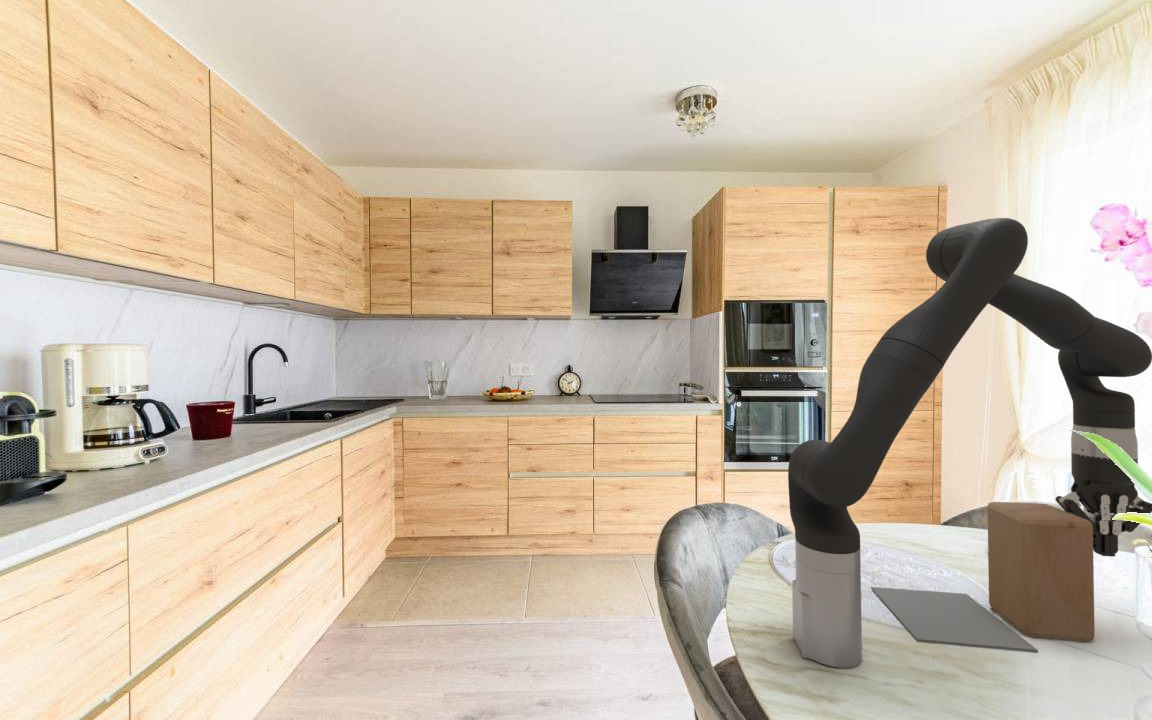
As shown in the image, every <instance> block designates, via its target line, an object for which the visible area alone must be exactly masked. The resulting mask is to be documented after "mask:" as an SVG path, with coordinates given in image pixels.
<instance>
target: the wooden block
mask: <svg viewBox="0 0 1152 720" xmlns="http://www.w3.org/2000/svg"><path fill="white" fill-rule="evenodd" d="M987 550H988V552H987V558H988V559H987V560H988V561H987V563H988V565H987V566H988V604H989V606H990V607H991V609H992V610H993V611H994V612H996V613H997V614H998V615H999V616H1001V618H1003V619H1004V620H1005V621H1007V622H1008V623H1010V624H1011V625H1012V626H1014V627H1015V628H1016V629H1017V630H1019V631H1020V632H1021V633H1023V635H1026V636H1027V637H1028V636H1029V637H1036V638H1048V639H1060V640H1069V641H1071V640H1072V641H1081V642H1082V641H1083V642H1092V641H1094V639H1095V636H1096V635H1095V634H1096V633H1095V588H1094V587H1095V582H1094V581H1095V579H1094V578H1095V576H1094V575H1095V574H1094V571H1095V570H1094V569H1095V568H1094V567H1095V566H1094V550H1093V526H1092V523H1091V522H1090V521H1089V520H1086V519H1084V518H1081V517H1078V516H1076V515H1073V514H1071V513H1068V512H1065V510H1064V509H1060V508H1057V507H1055V506H1053V505H1050V504H1047V503H1035V502H1033V503H1032V502H1030V503H1029V502H1010V501H1009V502H1008V501H1005V502H1004V501H991V502H988V504H987Z"/></svg>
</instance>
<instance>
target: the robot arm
mask: <svg viewBox="0 0 1152 720" xmlns="http://www.w3.org/2000/svg"><path fill="white" fill-rule="evenodd" d="M1028 243H1029V239H1028V232H1027V230H1026V228H1025V226H1024V225H1023V224H1022V223H1021V222H1019V221H1018V220H1016V219H1013V218H1010V217H1009V218H1008V217H996V218H987V219H982V220H978V221H973V222H968V223H963V224H958V225H955V226H951V227H948V228H945V229H942V230H941V231H940V232H937V233H936V234H935V235H934V236H933V237H932V238H931V240H930V241H929V242H928V244H927V247H926V251H925V259H926V263H927V265H928V266H927V267H928V268H929V270H931V272H932V273H933V274H934V275H935V276H936V277H937V278H939V279H940V280H942V281H944V283H943V285H942V286H941V287H939V289H938V290H937V291H936V292H935V293H933V295H931V296H930V297H929V298H928V299H926V300H925V301H924V302H922V303H921V304H919V305H918V306H916V307H915V308H914V309H912V310H911V311H910V312H908V313H907V314H905V315H903V317H901V318H900V319H899V320H897V321H896V322H895V323H894V324H892V326H891V327H889V328H888V329H887V330H886V331H885V332H884V333H883V335H882V336H881V338H880V339H879V340H878V342H877V343H876V345H875V346H874V348H873V349H872V351H871V352H870V353H869V355H868V357H867V359H866V360H865V362H864V364H863V366H862V368H861V370H860V374H859V379H858V383H857V390H856V397H855V403H854V406H853V409H852V411H851V413H850V415H849V417H848V418H847V421H846V422H845V423H844V425H843V426H842V427H841V429H840V430H839V432H838V433H837V435H836V436H835V437H834V438H833V440H832V441H831V442H829V441H826V440H821V439H809V440H806V441H804V442H802V443H800V444H798V445H797V446H796V447H795V448H794V450H793V451H792V453H791V455H790V458H789V462H788V467H787V476H788V477H787V481H788V482H787V485H788V500H789V514H790V519H791V522H792V524H793V527H794V528H793V529H794V539H795V541H794V544H795V550H794V551H795V579H793V580H792V581H791V584H792V585H791V586H792V587H791V588H792V589H791V591H792V637H793V639H794V641H795V643H796V646H797V648H798V650H799V652H800V655H801V657H802V658H804V659H809V660H813V661H815V662H817V663H819V664H822V665H826V666H830V667H834V668H840V669H841V668H843V669H845V668H847V669H848V668H853V667H856V666H859V664H860V663H861V662H862V661H863V660H862V659H863V656H862V655H863V653H862V652H863V642H862V641H863V640H862V639H863V638H862V634H863V633H862V581H861V580H862V575H861V574H862V573H861V572H862V570H861V568H862V567H861V566H862V565H861V564H862V563H861V560H862V559H861V533H860V531H859V528H858V527H857V525H856V524H855V522H854V520H853V519H852V517H851V515H850V512H849V510H848V508H847V507H850V506H852V505H855V504H856V503H857V502H859V501H860V500H861V499H862V498H863V497H864V496H865V495H866V493H867V492H868V491H869V489H870V487H871V486H872V484H873V482H874V480H875V479H876V476H877V474H878V472H879V470H880V468H881V466H882V464H883V463H884V460H885V458H886V456H887V454H888V452H889V450H890V448H891V446H892V445H893V443H894V442H895V440H896V437H897V436H898V434H899V433H900V431H901V430H902V429H903V427H904V426H905V424H906V423H907V421H908V419H909V418H910V416H911V415H912V413H913V412H914V410H915V408H916V407H917V405H918V404H919V403H920V400H921V399H922V398H923V397H924V395H925V394H926V392H927V391H928V390H929V389H930V387H931V386H932V384H933V382H934V381H935V380H936V379H937V377H938V375H939V373H940V372H941V370H942V369H943V368H944V366H945V365H946V363H947V362H948V359H949V358H950V357H951V355H952V353H953V352H954V350H955V348H956V347H957V346H958V344H959V343H960V341H961V340H962V339H963V338H964V336H965V335H966V333H967V332H968V331H969V329H970V327H972V325H973V323H974V322H975V320H976V319H977V318H978V316H979V315H980V314H981V313H982V311H983V310H984V309H986V307H987V305H990V306H992V307H993V308H996V309H998V310H999V311H1000V312H1002V313H1004V314H1005V315H1007V316H1009V317H1010V318H1012V319H1013V320H1015V321H1016V322H1018V323H1019V324H1020V325H1022V326H1023V327H1025V328H1026V329H1027V330H1029V332H1031V333H1032V334H1033V335H1035V336H1036V337H1038V338H1039V339H1040V340H1041V341H1042V342H1044V343H1045V344H1047V345H1048V346H1050V347H1051V348H1053V349H1056V350H1058V355H1057V360H1058V361H1057V362H1058V365H1059V369H1060V371H1061V374H1062V376H1063V379H1064V381H1065V384H1066V387H1067V389H1068V392H1069V395H1070V398H1071V400H1072V430H1076V431H1082V432H1089V433H1094V434H1097V435H1100V436H1102V437H1103V438H1105V439H1108V440H1110V441H1111V442H1113V443H1115V444H1117V445H1118V446H1119V447H1121V448H1122V449H1123V450H1124V451H1125V452H1126V453H1127V454H1128V455H1129V456H1130V457H1131V458H1132V459H1133V460H1134V461H1135V462H1136V463H1137V464H1138V465H1139V453H1138V451H1139V450H1138V449H1139V447H1138V445H1139V444H1138V443H1139V442H1138V437H1137V434H1136V406H1135V399H1134V397H1133V396H1132V395H1131V394H1129V393H1126V392H1123V391H1118V390H1113V389H1110V388H1107V387H1106V386H1104V384H1103V383H1102V381H1101V380H1100V379H1101V378H1100V377H1103V378H1128V377H1129V378H1130V377H1134V376H1138V375H1140V374H1142V373H1144V372H1145V371H1146V370H1148V368H1149V367H1150V365H1151V363H1152V350H1151V347H1150V346H1149V345H1148V343H1147V341H1145V339H1144V338H1142V337H1141V336H1139V335H1138V334H1136V333H1134V332H1133V331H1131V330H1128V329H1127V328H1124V327H1121V326H1119V325H1117V324H1115V323H1112V322H1110V321H1108V320H1106V319H1105V320H1104V319H1101V318H1099V317H1096V316H1095V315H1093V314H1092V313H1091V312H1090V311H1088V310H1087V309H1086V308H1085V307H1084V306H1082V305H1081V304H1080V303H1079V302H1078V301H1076V300H1075V299H1074V298H1072V297H1071V296H1070V295H1067V294H1065V293H1064V292H1061V291H1060V290H1057V289H1055V288H1053V287H1050V286H1047V285H1044V284H1042V283H1039V282H1036V281H1034V280H1031V279H1028V278H1025V277H1023V276H1020V275H1018V274H1015V273H1016V271H1017V270H1018V268H1019V267H1020V266H1021V264H1022V262H1023V260H1024V258H1025V256H1026V254H1027V250H1028ZM1072 430H1071V435H1070V437H1071V439H1070V444H1071V445H1070V449H1071V450H1070V451H1071V452H1070V453H1071V455H1070V456H1071V458H1070V459H1071V461H1070V462H1071V468H1070V469H1071V471H1070V472H1071V476H1072V477H1073V484H1072V485H1071V487H1070V491H1071V492H1069V493H1068V494H1065V495H1064V496H1061V495H1057V496H1056V497H1055V502H1056V503H1057V504H1058V505H1059V506H1060V507H1061V508H1062V510H1063V511H1065V512H1068V513H1071V514H1073V515H1076V516H1078V517H1081V518H1084V519H1086V520H1089V521H1090V522H1091V523H1092V526H1093V553H1095V554H1098V555H1100V556H1102V557H1114V558H1115V557H1116V554H1118V552H1119V535H1121V534H1122V533H1125V532H1127V533H1132V532H1133V531H1135V530H1136V528H1137V527H1139V525H1140V524H1141V523H1136V522H1131V521H1124V520H1112V518H1113V517H1114V516H1115V515H1116V514H1118V513H1127V512H1137V513H1150V514H1151V513H1152V503H1151V502H1149V501H1145V500H1144V499H1143V498H1141V497H1140V496H1139V493H1138V490H1137V489H1136V487H1135V485H1136V484H1134V483H1133V482H1132V481H1131V479H1130V478H1129V477H1128V476H1127V475H1126V474H1125V473H1124V472H1123V471H1122V470H1121V469H1120V468H1119V467H1118V466H1117V465H1115V463H1114V462H1113V461H1112V460H1111V459H1110V458H1109V457H1108V456H1107V455H1106V454H1105V453H1103V452H1102V451H1101V450H1100V449H1099V448H1098V447H1097V446H1096V445H1095V444H1094V443H1093V442H1091V441H1090V440H1088V439H1087V438H1085V437H1084V436H1082V435H1080V434H1078V433H1076V432H1073V431H1072ZM1081 507H1083V509H1082V508H1081Z"/></svg>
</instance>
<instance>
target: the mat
mask: <svg viewBox="0 0 1152 720" xmlns="http://www.w3.org/2000/svg"><path fill="white" fill-rule="evenodd" d="M871 589H872V590H873V591H874V592H875V593H876V594H877V595H876V594H875V593H874V592H873V591H872V590H871ZM870 590H871V591H872V592H873V593H874V594H875V595H876V597H877V596H878V597H879V598H880V599H881V600H880V599H879V598H878V597H877V598H878V599H879V600H880V602H882V604H883V605H884V604H885V605H884V606H885V607H886V608H887V609H888V610H889V612H890V613H892V615H893V616H894V617H895V618H896V619H897V620H898V622H899V621H900V624H901V626H903V627H904V629H906V631H907V632H908V633H909V634H910V635H911V637H912V638H914V640H915V641H916V642H921V643H930V644H942V645H953V646H961V647H962V646H963V647H975V648H984V649H986V648H987V649H997V650H1005V651H1017V652H1028V653H1038V652H1039V649H1037V648H1036V647H1034V646H1033V645H1032V644H1031V643H1030V642H1029V641H1027V640H1026V639H1025V638H1023V637H1022V636H1021V635H1019V633H1017V632H1016V631H1015V630H1013V629H1012V628H1011V627H1009V626H1008V625H1007V624H1006V623H1004V622H1003V621H1002V620H1001V619H999V618H998V617H997V616H996V615H994V614H993V613H992V612H990V611H989V610H988V609H986V608H985V607H984V606H983V605H982V604H980V603H979V602H977V600H975V599H974V598H972V597H971V596H970V595H969V594H967V593H958V592H947V591H946V592H945V591H944V592H943V591H932V590H919V589H907V588H906V589H905V588H890V587H877V586H876V587H875V586H870Z"/></svg>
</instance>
